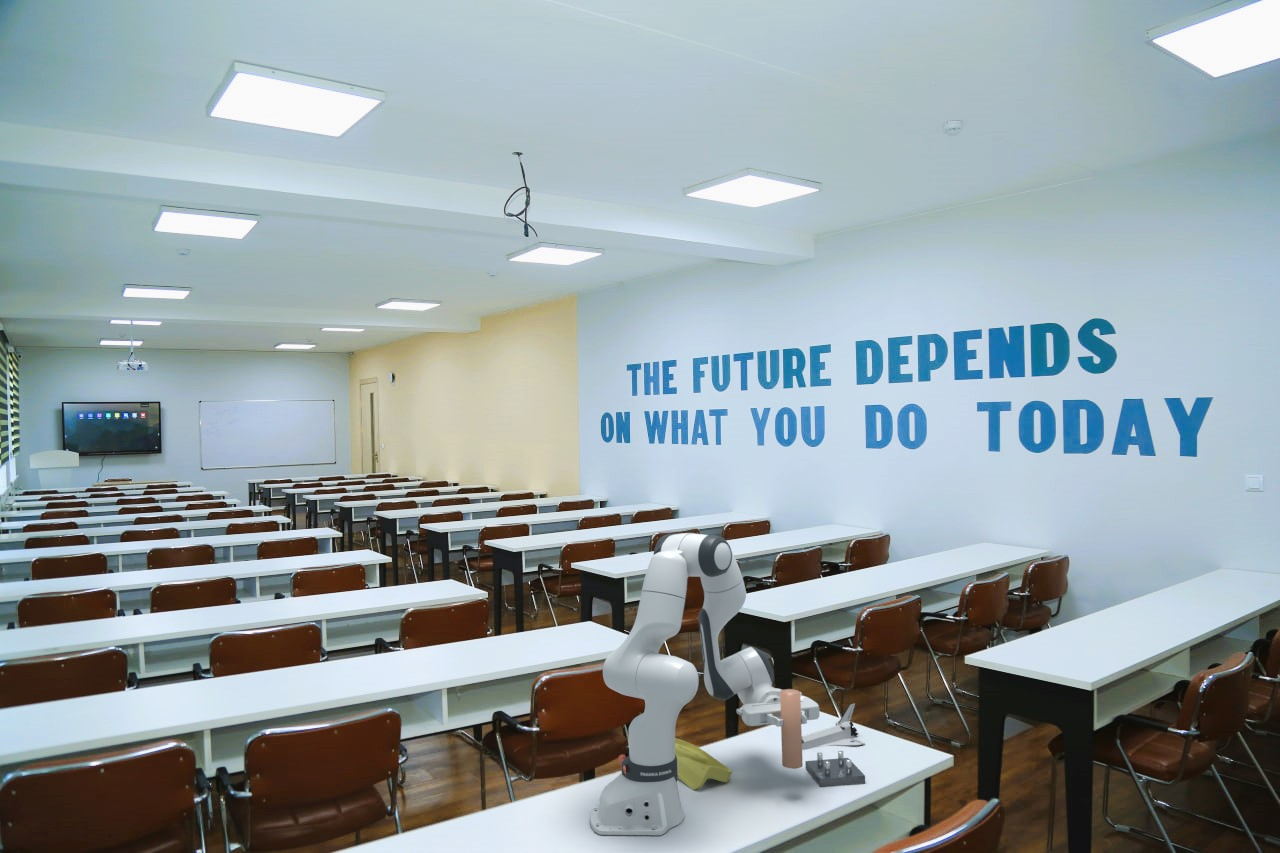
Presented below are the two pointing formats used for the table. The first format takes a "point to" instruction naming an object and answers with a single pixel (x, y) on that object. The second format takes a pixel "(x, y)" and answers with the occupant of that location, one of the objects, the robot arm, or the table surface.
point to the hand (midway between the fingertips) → (792, 722)
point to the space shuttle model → (834, 734)
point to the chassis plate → (834, 771)
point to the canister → (791, 728)
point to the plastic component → (698, 765)
